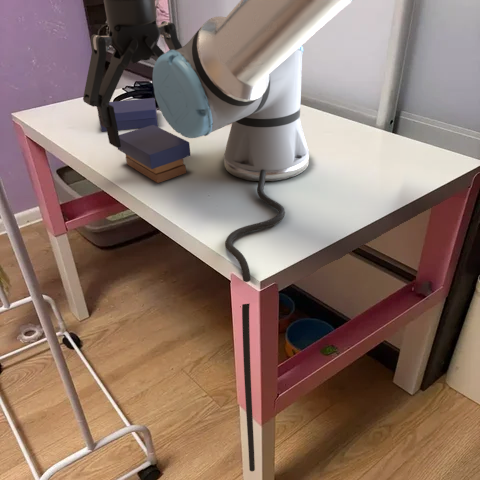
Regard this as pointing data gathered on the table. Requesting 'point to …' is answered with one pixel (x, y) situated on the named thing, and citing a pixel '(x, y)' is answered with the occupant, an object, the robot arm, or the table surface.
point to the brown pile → (158, 169)
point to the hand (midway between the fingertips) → (149, 134)
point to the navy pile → (134, 113)
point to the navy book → (153, 146)
